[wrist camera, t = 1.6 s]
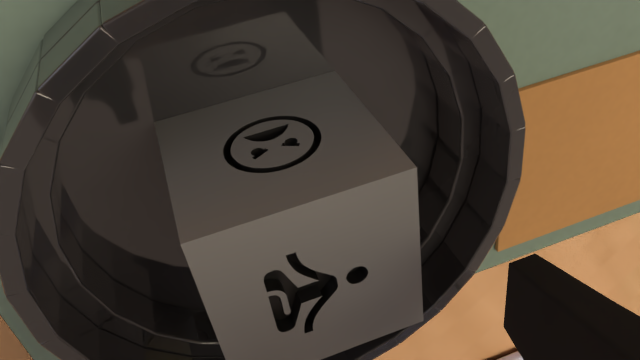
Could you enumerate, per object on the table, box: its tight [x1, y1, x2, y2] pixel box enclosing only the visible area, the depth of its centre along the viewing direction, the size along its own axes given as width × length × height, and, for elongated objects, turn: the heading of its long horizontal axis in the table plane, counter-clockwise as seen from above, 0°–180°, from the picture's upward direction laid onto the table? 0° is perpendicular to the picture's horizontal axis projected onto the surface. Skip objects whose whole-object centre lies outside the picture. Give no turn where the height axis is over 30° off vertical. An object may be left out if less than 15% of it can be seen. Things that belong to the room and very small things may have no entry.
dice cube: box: [154, 71, 423, 360], centre depth 15 cm, size 5×5×5 cm
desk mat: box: [0, 0, 640, 360], centre depth 17 cm, size 17×25×1 cm
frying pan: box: [0, 0, 526, 360], centre depth 16 cm, size 13×13×3 cm
